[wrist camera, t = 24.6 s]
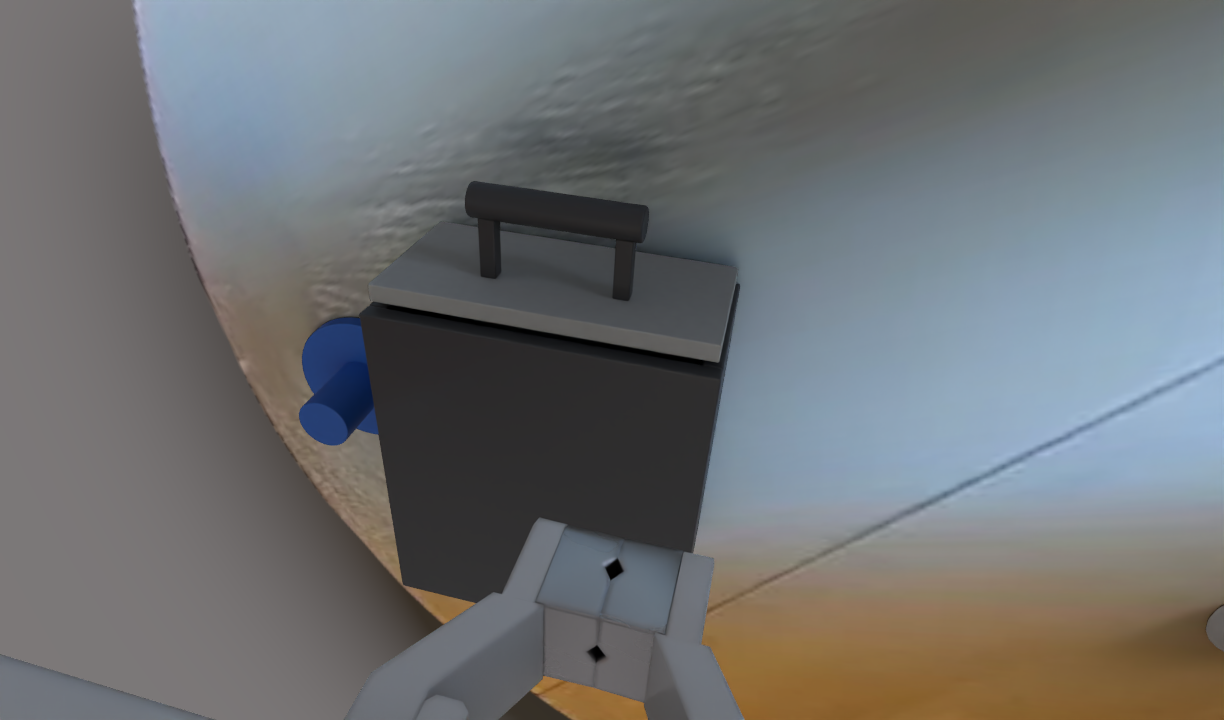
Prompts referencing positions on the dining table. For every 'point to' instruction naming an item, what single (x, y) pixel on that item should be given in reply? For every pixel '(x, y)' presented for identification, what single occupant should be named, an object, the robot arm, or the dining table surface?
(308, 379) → the lid
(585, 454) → the dark grey drawer cabinet
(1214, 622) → the chalice
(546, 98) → the dining table surface
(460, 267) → the grey drawer
